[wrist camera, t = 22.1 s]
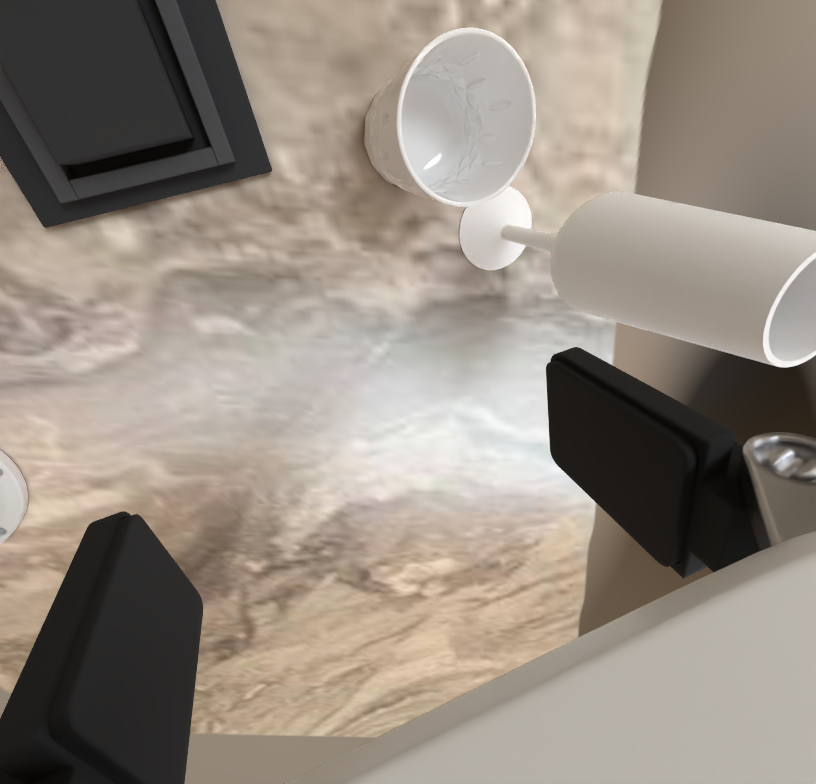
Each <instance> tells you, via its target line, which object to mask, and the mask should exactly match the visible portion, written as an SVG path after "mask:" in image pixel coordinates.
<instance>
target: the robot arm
mask: <svg viewBox="0 0 816 784" xmlns="http://www.w3.org/2000/svg"><path fill="white" fill-rule="evenodd" d="M546 378H547V397H548V417H549V436H550V452H551V455H552V458H553V460H554V461H555V463H556V464H557V465H558V466H559V467H560V468H561V469H562V470H563V471H564V472H565V473H566V474H567V475H568V476H569V477H570V478H571V479H572V480H573V481H574V482H575V483H577V484H578V485H579V486H580V487H581V488H582V489H583V490H584V491H585V492H586V493H587V494H588V495H589V496H590V497H591V498H592V499H593V500H594V501H595V502H596V503H597V504H598V505H599V506H600V507H601V508H602V509H603V510H604V511H606V512H607V513H608V514H609V515H610V516H611V517H612V518H613V519H614V520H615V521H616V522H617V523H618V524H619V525H620V526H621V527H622V528H623V529H624V530H625V531H626V532H627V533H628V534H630V536H631V537H633V538H634V539H635V540H636V541H637V542H638V543H639V544H640V545H641V546H642V547H643V548H644V549H645V550H646V551H647V552H648V553H649V554H650V555H651V556H652V557H653V558H654V559H655V560H656V561H657V562H659V563H660V564H661V565H663V566H667V567H668V566H671V567H672V568H673V569H674V570H675V571H676V572H677V573H678V574H679V575H680V576H681V577H682V578H685V577H688V576H690V575H692V574H694V573H696V572H698V571H700V570H702V569H704V568H705V567H706V566H707V567H708V568H710V569H711V570H712V571H713V572H714V573H712V574H710V575H708V576H705V577H703V578H701V579H699V580H697V581H694V582H692V583H690V584H688V585H686V586H684V587H682V588H679V589H677V590H675V591H673V592H671V593H669V594H667V595H665V596H663V597H661V598H659V599H657V600H655V601H653V602H651V603H649V604H647V605H645V606H643V607H640V608H638V609H636V610H634V611H632V612H630V613H628V614H626V615H624V616H622V617H620V618H618V619H616V620H614V621H612V622H610V623H608V624H606V625H604V626H602V627H600V628H598V629H595V630H593V631H591V632H589V633H587V634H585V635H583V636H581V637H579V638H577V639H575V640H573V641H571V642H569V643H567V644H565V645H563V646H560V647H558V648H556V649H554V650H552V651H550V652H548V653H546V654H544V655H542V656H540V657H538V658H536V659H534V660H532V661H530V662H528V663H526V664H524V665H522V666H520V667H518V668H516V669H514V670H512V671H510V672H508V673H506V674H504V675H502V676H500V677H498V678H496V679H494V680H492V681H489V682H487V683H485V684H483V685H481V686H479V687H477V688H475V689H473V690H471V691H469V692H467V693H465V694H463V695H461V696H459V697H457V698H455V699H453V700H451V701H449V702H447V703H445V704H443V705H441V706H439V707H437V708H435V709H433V710H431V711H429V712H427V713H425V714H423V715H421V716H419V717H417V718H415V719H413V720H411V721H409V722H407V723H405V724H403V725H401V726H399V727H397V728H395V729H392V730H390V731H388V732H386V733H384V734H382V735H380V736H378V737H376V738H374V739H372V740H370V741H368V742H366V743H364V744H362V745H361V746H358V747H357V748H354V749H352V750H350V751H348V752H347V753H344V754H343V755H341V756H339V757H337V758H334V759H332V760H330V761H328V762H326V763H324V764H323V765H321V766H319V767H316V768H315V769H312V770H310V771H308V772H307V773H304V774H302V775H301V776H298V777H297V778H295V779H293V780H291V781H289V782H287V783H285V784H816V439H814V438H810V437H807V436H803V435H799V434H791V433H766V434H761V435H757V436H755V437H753V438H751V439H749V440H748V441H747V442H746V444H745V445H744V446H742V445H740V444H738V443H737V442H735V441H734V439H735V435H736V433H735V432H734V431H732V430H730V429H728V428H726V427H725V426H723V425H721V424H719V423H717V422H715V421H713V420H712V419H710V418H708V417H706V416H704V415H702V414H701V413H699V412H697V411H695V410H693V409H691V408H690V407H688V406H686V405H684V404H682V403H680V402H678V401H677V400H675V399H673V398H671V397H669V396H667V395H666V394H664V393H662V392H660V391H658V390H656V389H655V388H653V387H651V386H649V385H647V384H645V383H644V382H642V381H640V380H638V379H636V378H634V377H632V376H630V375H629V374H627V373H625V372H623V371H621V370H620V369H618V368H616V367H614V366H612V365H610V364H609V363H607V362H605V361H603V360H601V359H599V358H597V357H596V356H594V355H592V354H590V353H588V352H586V351H585V350H583V349H581V348H578V347H574V348H571V349H568V350H565V351H563V352H560V353H557V354H554V355H553V356H552V358H551V362H550V363H548V364H547V366H546ZM27 504H28V491H27V485H26V482H25V480H24V478H23V476H22V474H21V472H20V470H19V469H18V467H17V466H16V465H15V464H14V462H13V461H12V460H11V459H10V458H9V457H8V456H7V455H6V454H5V453H3V452H2V451H1V450H0V544H2V543H3V542H4V541H5V540H6V539H7V538H8V537H9V536H10V535H11V534H12V533H13V532H14V531H15V530H16V528H17V527H18V525H19V524H20V522H21V521H22V519H23V516H24V514H25V512H26V510H27ZM202 616H203V603H202V599H201V597H200V594H199V593H198V591H197V590H196V589H195V587H194V586H193V585H192V583H191V582H190V581H189V579H188V578H187V577H186V575H185V574H184V573H183V571H182V570H181V569H180V567H179V566H178V565H177V563H176V562H175V561H174V559H173V558H172V557H171V555H170V554H169V553H168V551H167V550H166V549H165V547H164V546H163V545H162V544H161V542H160V541H159V540H158V538H157V537H156V536H155V534H154V533H153V532H152V530H151V529H150V528H149V526H148V525H147V524H146V522H145V521H144V520H143V518H142V517H141V516H139V515H137V514H135V515H132V516H131V515H130V514H129V513H127V512H119V513H116V514H114V515H111V516H108V517H105V518H103V519H100V520H97V521H94V522H92V523H91V524H90V525H89V526H88V528H87V530H86V532H85V534H84V536H83V538H82V541H81V543H80V545H79V547H78V549H77V552H76V554H75V556H74V558H73V560H72V562H71V565H70V567H69V569H68V571H67V573H66V576H65V578H64V580H63V582H62V584H61V587H60V589H59V591H58V593H57V595H56V598H55V600H54V602H53V604H52V606H51V609H50V611H49V613H48V615H47V617H46V620H45V622H44V624H43V626H42V628H41V631H40V633H39V635H38V637H37V639H36V641H35V644H34V646H33V648H32V650H31V652H30V655H29V657H28V659H27V661H26V663H25V666H24V668H23V670H22V672H21V674H20V677H19V679H18V681H17V683H16V685H15V688H14V690H13V692H12V694H11V696H10V699H9V701H8V703H7V705H6V707H5V710H4V712H3V714H2V716H1V718H0V784H184V782H185V773H186V763H187V755H188V745H189V736H190V727H191V717H192V708H193V699H194V690H195V680H196V671H197V662H198V653H199V643H200V634H201V625H202Z"/></svg>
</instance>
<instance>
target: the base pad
mask: <svg viewBox="0 0 816 784" xmlns="http://www.w3.org/2000/svg"><path fill="white" fill-rule="evenodd" d="M139 2H140V4H141V7H142V9H143V11H144V14H145V16H146V19H147V21H148V24H149V26H150V29H151V31H152V34H153V36H154V39H155V41H156V44H157V46H158V49H159V51H160V54H161V56H162V59H163V61H164V64H165V66H166V68H167V71H168V73H169V76H170V78H171V81H172V83H173V86H174V88H175V91H176V93H177V96H178V98H179V101H180V103H181V106H182V108H183V111H184V113H185V116H186V118H187V121H188V123H189V126H190V128H191V130H192V133H193V135H194V138H195V139H194V140H190V141H185V142H181V143H177V144H172V145H168V146H164V147H159V148H155V149H151V150H146V151H142V152H138V153H133V154H129V155H125V156H120V157H116V158H111V159H107V160H103V161H98V162H94V163H90V164H85V165H66V164H57V163H56V162H55V160H54V158H53V156H52V154H51V153H50V151H49V149H48V147H47V146H46V144H45V142H44V140H43V138H42V137H41V135H40V133H39V131H38V130H37V128H36V126H35V124H34V122H33V121H32V119H31V117H30V115H29V114H28V112H27V110H26V108H25V106H24V105H23V103H22V101H21V99H20V97H19V96H18V94H17V92H16V90H15V89H14V87H13V85H12V83H11V81H10V80H9V78H8V76H7V74H6V73H5V71H4V69H3V67H2V65H1V64H0V156H1V158H2V160H3V161H4V163H5V165H6V166H7V168H8V169H9V171H10V173H11V174H12V176H13V178H14V179H15V181H16V182H17V184H18V186H19V187H20V189H21V191H22V192H23V194H24V195H25V197H26V199H27V200H28V202H29V204H30V205H31V207H32V208H33V210H34V212H35V213H36V215H37V217H38V218H39V220H40V221H41V223H42V225H43V226H44V227H45V228H47V227H51V226H55V225H59V224H63V223H67V222H71V221H75V220H79V219H83V218H87V217H91V216H95V215H99V214H103V213H107V212H111V211H115V210H119V209H123V208H127V207H131V206H135V205H139V204H143V203H147V202H151V201H155V200H159V199H163V198H167V197H171V196H175V195H179V194H183V193H187V192H191V191H195V190H199V189H203V188H207V187H211V186H215V185H219V184H223V183H227V182H231V181H235V180H239V179H243V178H247V177H251V176H255V175H259V174H263V173H267V172H271V171H272V168H271V165H270V162H269V159H268V156H267V153H266V150H265V147H264V144H263V141H262V138H261V135H260V132H259V129H258V126H257V123H256V120H255V117H254V114H253V111H252V108H251V105H250V102H249V99H248V96H247V93H246V90H245V87H244V84H243V81H242V78H241V75H240V72H239V69H238V66H237V63H236V60H235V57H234V54H233V51H232V48H231V45H230V42H229V39H228V36H227V33H226V30H225V27H224V24H223V21H222V18H221V15H220V12H219V9H218V6H217V3H216V0H139Z"/></svg>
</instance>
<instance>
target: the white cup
mask: <svg viewBox="0 0 816 784" xmlns="http://www.w3.org/2000/svg"><path fill="white" fill-rule="evenodd" d="M535 124H536V103H535V95H534V90H533V86H532V82H531V79H530V76H529V73H528V71H527V69H526V67H525V65H524V63H523V61H522V60H521V58H520V56H519V55H518V54H517V52H516V51H515V50H514V49H513V48H512V47H511V46H510V45H509V44H508V43H507V42H506V41H505V40H503V39H502V38H501V37H499V36H498V35H496V34H494V33H492V32H489V31H487V30H483V29H479V28H459V29H455V30H451V31H449V32H446V33H444V34H442V35H440V36H439V37H437V38H435V39H434V40H433V41H431V42H430V43H429V44H428V45H427V46H426V47H424V48H423V49H422V50H421V51H420V52H419V53H418V54H417V55H416V56H414V57H413V58H412V59H411V60H410V61H409V62H408V63H406V64H405V65H404V66H403V67H402V68H401V69H400V70H399V71H398V72H397V73H396V74H395V75H394V76H393V77H392V78H391V79H390V80H389V81H388V82H387V83H386V85H385V86H384V88H383V89H382V90H381V91H380V92H379V93H377V94H376V95H375V98H374V100H373V102H372V104H371V106H370V108H369V111H368V113H367V115H366V117H365V136H364V144H365V147H366V150H367V152H368V155H369V158H370V161H371V164H372V166H373V167H374V168H375V169H376V171H377V172H378V173H379V174H380V175H381V176H382V177H383V178H384V179H385V180H386V181H387V182H388V183H390V184H393V185H396V186H398V187H400V188H401V189H403V190H405V191H407V192H410V193H412V194H415V195H418V196H421V197H425V198H428V199H431V200H434V201H437V202H440V203H444V204H447V205H450V206H455V207H471V206H476V205H480V204H483V203H485V202H487V201H489V200H491V199H493V198H495V197H496V196H498V195H499V194H500V193H502V192H503V191H504V190H505V189H506V188H507V187H508V186H509V185H510V184H511V183H512V182H513V181H514V179H515V178H516V177H517V175H518V174H519V172H520V171H521V169H522V167H523V165H524V163H525V161H526V159H527V157H528V154H529V152H530V149H531V145H532V142H533V137H534V132H535Z"/></svg>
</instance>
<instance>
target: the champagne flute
mask: <svg viewBox="0 0 816 784" xmlns="http://www.w3.org/2000/svg"><path fill="white" fill-rule="evenodd" d="M531 224H532V221H531V212H530V208H529V205H528V203H527V201H526V199H525V198H524V197H523V195H522V194H521V193H520V192H518V191H517V190H516V189H514V188H512V187H510V186H508V187H507V188H506V189H505V190H504V191H503V192H502V193H500V194H499V195H498V196H496V197H495V198H493V199H491V200H489V201H487V202H485V203H483V204H480V205H476V206H471V207H466V209H465V211H464V214H463V216H462V219H461V223H460V232H459V237H460V244H461V247H462V250H463V253H464V254H465V256H466V258H467V259H468V260H469V261H470V262H471V263H472V264H473V265H475V266H476V267H478V268H481V269H483V270H498V269H501V268H504V267H506V266H507V265H509V264H511V263H512V262H513V261H514V260H516V259H517V257H518V256H519V255H520V254H521V253H522V251H523V250H524V248H525V246H530V247H533V248H537V249H541V250H544V251H548V252H551V258H550V270H551V276H552V280H553V283H554V286H555V288H556V290H557V292H558V295H559V296H560V297H561V298H562V300H563V301H564V302H565V303H566V304H567V305H569V306H570V307H572V308H573V309H575V310H577V311H580V312H583V313H586V314H590V315H594V316H597V317H601V318H604V319H608V320H612V321H615V322H619V323H623V324H626V325H630V326H633V327H637V328H640V329H644V330H648V331H651V332H655V333H658V334H662V335H666V336H670V337H673V338H677V339H680V340H684V341H688V342H691V343H694V344H698V345H702V346H705V347H709V348H713V349H716V350H720V351H724V352H727V353H731V354H734V355H738V356H741V357H745V358H749V359H752V360H756V361H759V362H763V363H766V364H771V365H774V366H777V367H791V366H796V365H798V364H801V363H803V362H805V361H807V360H809V359H810V358H812V357H813V356H815V355H816V231H813V230H808V229H803V228H798V227H793V226H788V225H783V224H779V223H774V222H769V221H764V220H759V219H754V218H749V217H744V216H740V215H735V214H730V213H725V212H720V211H715V210H710V209H705V208H700V207H695V206H690V205H685V204H681V203H676V202H671V201H666V200H661V199H656V198H651V197H646V196H641V195H636V194H632V193H627V192H611V193H607V194H604V195H600V196H597V197H595V198H593V199H591V200H590V201H588V202H586V203H585V204H584V205H582V206H581V207H580V208H579V209H577V210H576V211H575V212H574V213H573V214H572V215H571V216H570V217H569V218H568V219H567V220H566V221H565V223H564V224H563V226H562V227H561V229H560V230H559V232H558V234H552V233H548V232H543V231H538V230H533V229H531Z"/></svg>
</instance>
